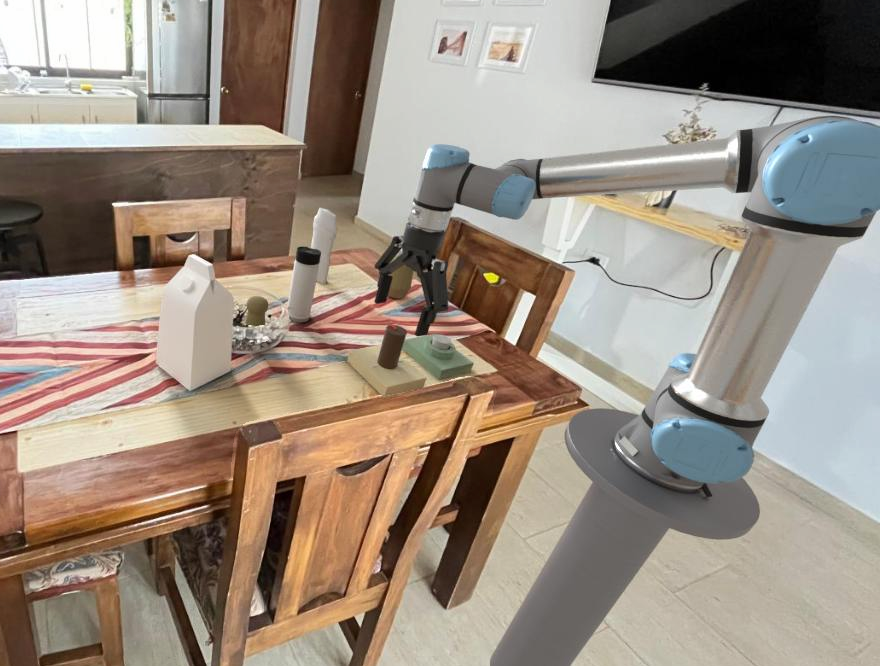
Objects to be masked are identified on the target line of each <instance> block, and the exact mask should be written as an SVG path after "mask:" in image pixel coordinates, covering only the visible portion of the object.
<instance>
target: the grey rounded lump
mask: <svg viewBox="0 0 880 666" xmlns="http://www.w3.org/2000/svg"><path fill="white" fill-rule="evenodd" d="M450 343H452V340H451V338H450V337H448V336H447V335H444V334H439V333H438V334H437V333H436V335H434V337H433V340H432V346H434V347H435V348H437V349H440V350H448V349H449V346H450Z"/></svg>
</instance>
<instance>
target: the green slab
mask: <svg viewBox="0 0 880 666" xmlns="http://www.w3.org/2000/svg"><path fill="white" fill-rule="evenodd" d="M434 335H437V333H432V334H427V335H422V336H416V337H410V338H405V340H404V344H403V347H402V350H403V351H404V352H405V353H407V354H408V355H409V356H410V357H411V358H413V359H414V360H415V361H416V362H418V363H419V365H421V366H422V367H423V368H424V369H425V370H427V371H428V372H429V373H431V374H432V375H433V376H434V377H435V378H437V379H438V380H444V379H447V378H451V377H454V376H455V377H456V376H460V375H464V374H467V373H471V372H472V369H473V367H474V363H475V362H474V361H472V360H471V359H470V358H468V357H467V356H466V355H464V354H463V353H462V352H461V351H459V350H458V349H457V348H456V346H455V344H454V343H453V342H451V343H450V346H449V349H448V350H440V349H437V348H435V347H434V346H432V340H433V337H434Z"/></svg>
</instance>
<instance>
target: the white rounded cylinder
mask: <svg viewBox="0 0 880 666" xmlns="http://www.w3.org/2000/svg"><path fill="white" fill-rule="evenodd" d="M312 228H313V231H312V236H311V237H312V238H311V244H310V248H312V249H318V250H320V251H321V257H320V264H319V269H318V275H317V280H316V282H318V283H320V284H322V285H326V284H327V280H328V276H329V271H330V265H331V255H332V250H333V246H334V241H335V239H337V238H336V237H337V234H338V233H337V232H338V227H337V215H336V214H335V213H333V212H332V211H331V210H329V209H327V208H323V207H319V208H318V210H317V213H316V215H315V216H314V217H313V223H312Z"/></svg>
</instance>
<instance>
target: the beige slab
mask: <svg viewBox="0 0 880 666" xmlns="http://www.w3.org/2000/svg"><path fill="white" fill-rule="evenodd" d="M381 345H382V343H381V344H377V345H371V346H366V347H361V348H356V349H351V350H349V351H348V355H347V359H346V362H347V363H348V364H349V365H350V366H351V367H352V368H353V369H354V370H356V372H357V373H359V375H361V376H362V378H364V380H365V381H366V382H367V383H368V384H369V385H370V386H372V388H373V389H374V390H375V391H376V392H378V394H379V395H380V396H382V397H383V396H387V395H392V394H397V393H402V392H406V393H408V392H407V391H411V390H415V391H418V390H417V389H419V390H422V388H423V389H424V387H425V384H426V381H427V376H426V375H424V374H423V373H422V372H421V371H420V370H419V369H417V368H416V367H415V366H414V365H412V363H410V362H409V361H408V360H407V359H405V358H404V357H403V356H402V355H401V354H400V357H399V361H398V364H397V367H396V368H395V369H386V368H383V367H381V366H380V365H379V364H378V362H377V360H378V356H379V353H380V349H381ZM411 392H412V391H411ZM402 394H403V393H402Z"/></svg>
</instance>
